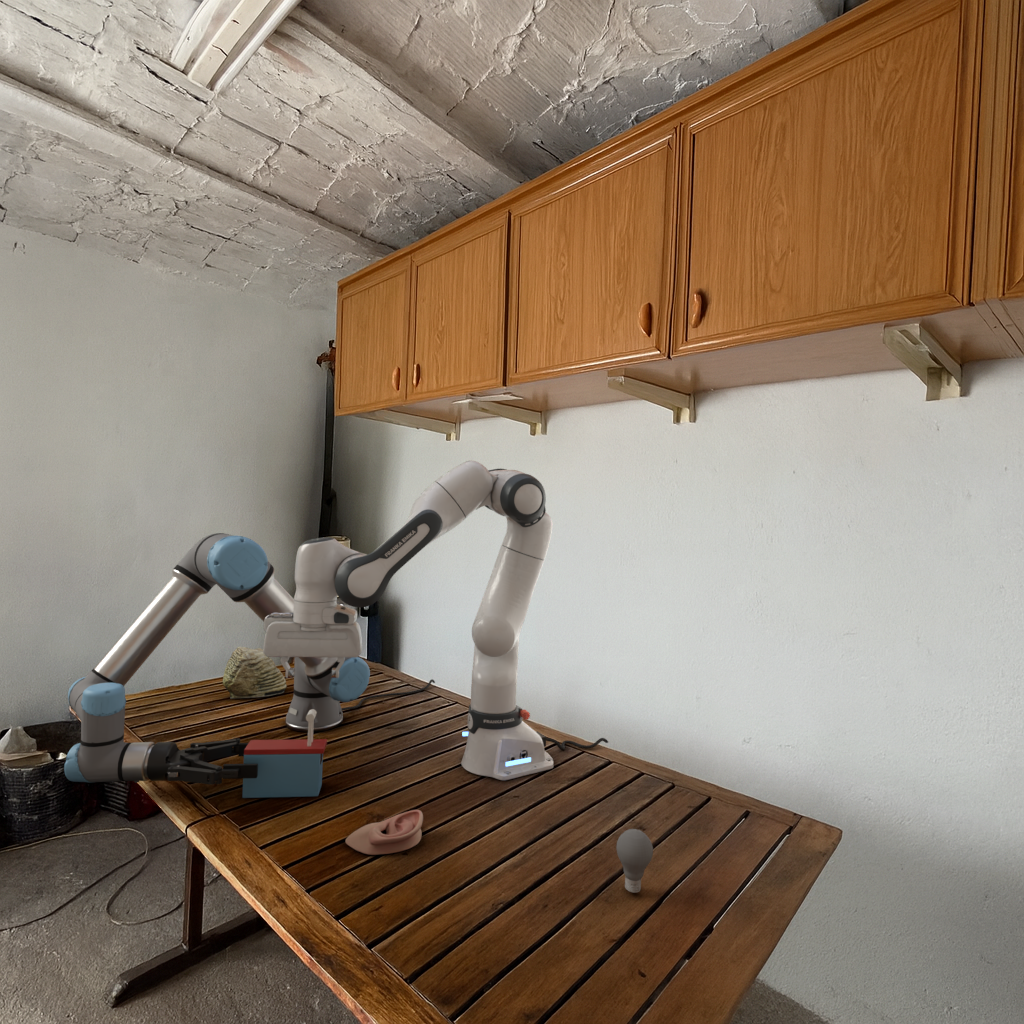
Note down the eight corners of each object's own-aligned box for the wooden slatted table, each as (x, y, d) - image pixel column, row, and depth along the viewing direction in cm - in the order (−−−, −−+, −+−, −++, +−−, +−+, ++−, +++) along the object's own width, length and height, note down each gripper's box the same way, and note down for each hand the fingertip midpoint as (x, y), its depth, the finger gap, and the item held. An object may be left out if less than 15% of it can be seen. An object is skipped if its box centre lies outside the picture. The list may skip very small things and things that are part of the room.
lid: (327, 743, 139) (328, 707, 139) (323, 753, 134) (325, 715, 134) (250, 744, 137) (252, 707, 137) (243, 754, 132) (245, 716, 131)
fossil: (218, 695, 195) (220, 647, 195) (278, 685, 208) (279, 640, 207) (228, 703, 189) (230, 653, 188) (289, 692, 201) (290, 645, 201)
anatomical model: (338, 827, 114) (365, 799, 125) (337, 849, 114) (364, 818, 125) (408, 839, 111) (429, 808, 122) (407, 861, 111) (428, 828, 122)
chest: (321, 784, 139) (323, 744, 139) (318, 796, 134) (319, 754, 134) (249, 786, 137) (250, 745, 137) (242, 798, 132) (243, 755, 132)
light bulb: (610, 879, 108) (613, 822, 108) (644, 879, 109) (647, 822, 109) (619, 902, 102) (622, 840, 102) (655, 901, 103) (658, 840, 103)
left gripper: (173, 756, 143) (275, 755, 146) (126, 806, 120) (248, 802, 124) (174, 723, 143) (276, 723, 146) (128, 766, 120) (250, 764, 123)
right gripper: (260, 614, 131) (258, 681, 131) (361, 616, 134) (359, 681, 134) (267, 609, 137) (265, 673, 137) (364, 611, 140) (361, 673, 140)
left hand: (263, 759), depth 135 cm, fingers open, 10 cm apart
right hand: (312, 677), depth 136 cm, fingers open, 8 cm apart
